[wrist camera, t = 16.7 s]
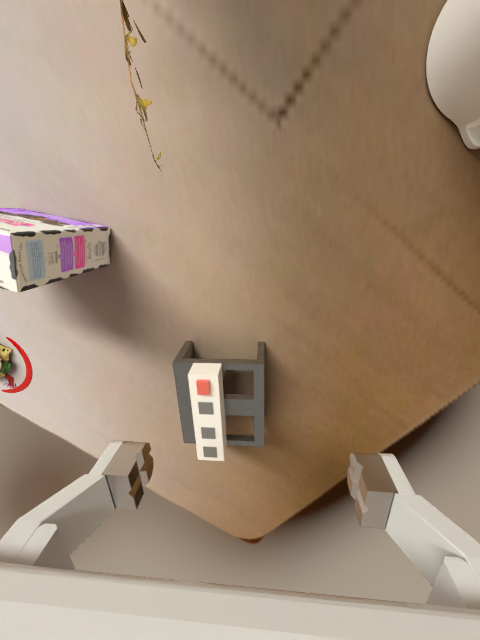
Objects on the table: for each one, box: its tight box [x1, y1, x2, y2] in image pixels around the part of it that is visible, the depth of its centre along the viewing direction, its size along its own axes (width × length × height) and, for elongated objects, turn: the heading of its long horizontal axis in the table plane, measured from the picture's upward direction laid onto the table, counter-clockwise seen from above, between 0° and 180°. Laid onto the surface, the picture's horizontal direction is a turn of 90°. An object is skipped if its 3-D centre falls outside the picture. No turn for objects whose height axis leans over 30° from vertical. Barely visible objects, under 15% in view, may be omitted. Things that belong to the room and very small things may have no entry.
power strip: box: [188, 363, 227, 461], centre depth 40 cm, size 4×15×7 cm, turn 2°
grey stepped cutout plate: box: [173, 341, 265, 447], centre depth 43 cm, size 13×15×7 cm
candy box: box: [0, 208, 110, 292], centre depth 32 cm, size 14×6×16 cm, turn 79°
